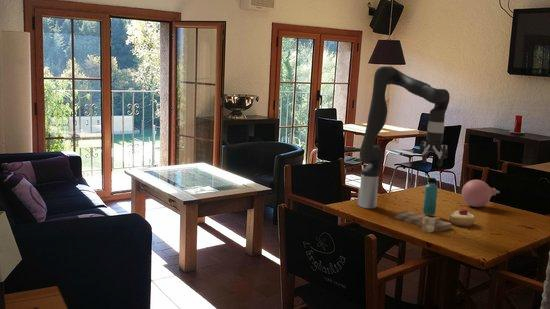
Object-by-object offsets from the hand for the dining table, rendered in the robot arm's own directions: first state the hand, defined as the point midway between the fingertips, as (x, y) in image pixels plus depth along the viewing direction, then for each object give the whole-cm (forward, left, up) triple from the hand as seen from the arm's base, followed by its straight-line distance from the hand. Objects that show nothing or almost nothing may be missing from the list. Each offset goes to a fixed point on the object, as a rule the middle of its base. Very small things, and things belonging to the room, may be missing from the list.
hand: (431, 164), depth 253 cm
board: (-1, -2, -29) cm, 29 cm away
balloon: (-3, +54, -30) cm, 62 cm away
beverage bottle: (-7, +12, -30) cm, 33 cm away
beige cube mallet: (+8, -7, -29) cm, 31 cm away
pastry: (+10, +15, -30) cm, 35 cm away
